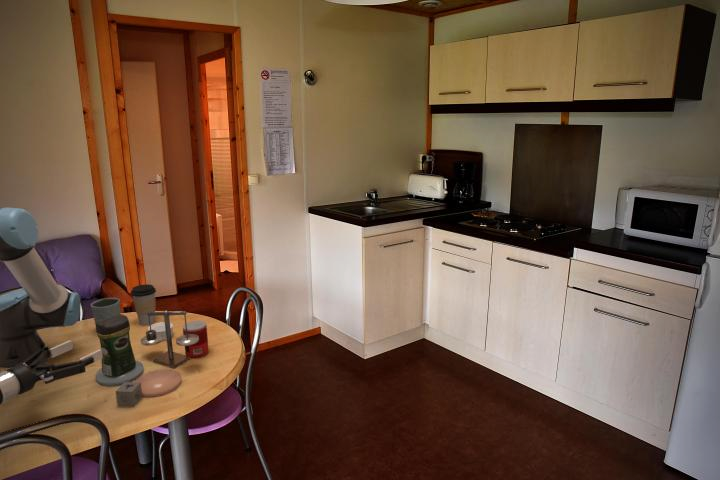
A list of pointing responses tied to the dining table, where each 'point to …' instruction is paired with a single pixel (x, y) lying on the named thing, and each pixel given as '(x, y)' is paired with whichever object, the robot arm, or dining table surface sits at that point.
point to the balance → (169, 341)
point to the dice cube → (129, 394)
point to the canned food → (202, 345)
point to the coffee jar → (115, 345)
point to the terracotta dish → (159, 382)
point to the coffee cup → (144, 302)
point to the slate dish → (120, 376)
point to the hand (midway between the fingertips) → (86, 348)
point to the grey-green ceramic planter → (105, 308)
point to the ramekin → (161, 329)
